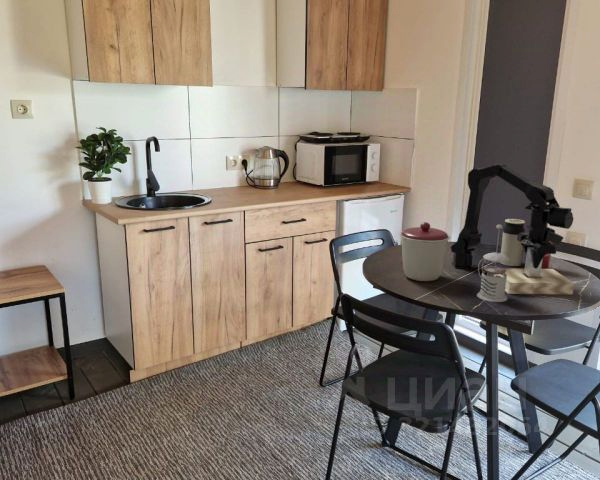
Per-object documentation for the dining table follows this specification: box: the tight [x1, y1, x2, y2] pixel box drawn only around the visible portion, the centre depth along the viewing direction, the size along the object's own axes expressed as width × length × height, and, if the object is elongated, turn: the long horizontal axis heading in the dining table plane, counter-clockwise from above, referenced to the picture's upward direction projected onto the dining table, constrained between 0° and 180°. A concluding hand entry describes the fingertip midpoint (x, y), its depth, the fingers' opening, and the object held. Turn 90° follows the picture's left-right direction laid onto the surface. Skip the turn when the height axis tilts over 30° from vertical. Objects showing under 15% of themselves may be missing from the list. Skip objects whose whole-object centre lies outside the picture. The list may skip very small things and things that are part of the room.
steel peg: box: [524, 247, 543, 278], centre depth 182 cm, size 4×4×10 cm
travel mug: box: [500, 218, 526, 267], centre depth 208 cm, size 8×8×18 cm
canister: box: [399, 221, 451, 282], centre depth 191 cm, size 18×18×21 cm
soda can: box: [541, 241, 553, 269], centre depth 203 cm, size 7×7×12 cm
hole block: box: [494, 268, 575, 295], centre depth 184 cm, size 22×16×4 cm
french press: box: [476, 224, 509, 303], centre depth 172 cm, size 10×12×25 cm
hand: (533, 266), depth 183 cm, fingers closed on steel peg, 4 cm apart
